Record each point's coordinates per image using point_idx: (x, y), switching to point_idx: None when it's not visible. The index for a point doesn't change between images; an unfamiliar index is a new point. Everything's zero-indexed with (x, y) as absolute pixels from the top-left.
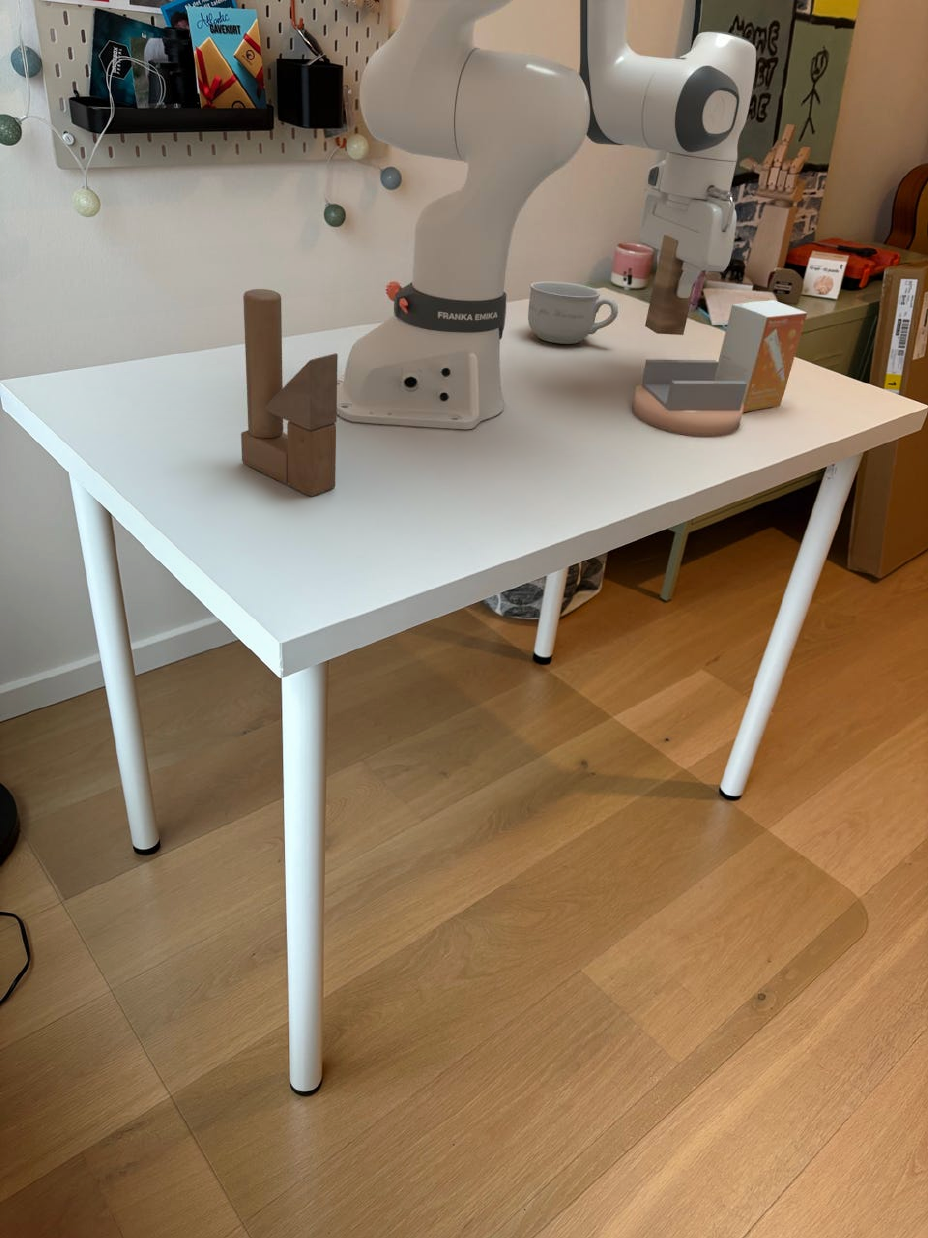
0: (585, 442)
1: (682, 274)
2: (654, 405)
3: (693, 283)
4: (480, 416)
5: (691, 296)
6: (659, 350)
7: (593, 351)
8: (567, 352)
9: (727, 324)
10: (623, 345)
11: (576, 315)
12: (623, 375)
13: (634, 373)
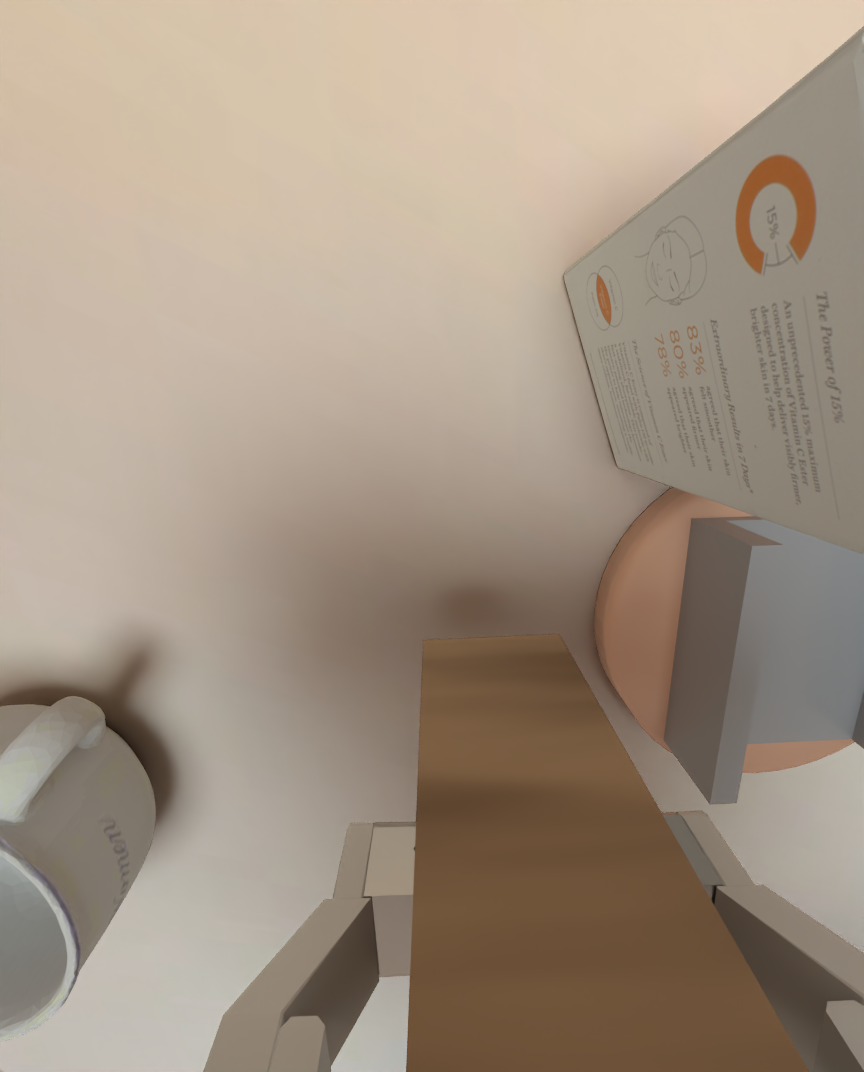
0: (841, 878)
1: (802, 1058)
2: (820, 753)
3: (774, 894)
4: None
5: (623, 754)
6: (110, 449)
7: (182, 695)
8: (210, 773)
9: (803, 532)
10: (83, 573)
11: (116, 852)
12: (410, 671)
13: (389, 632)
